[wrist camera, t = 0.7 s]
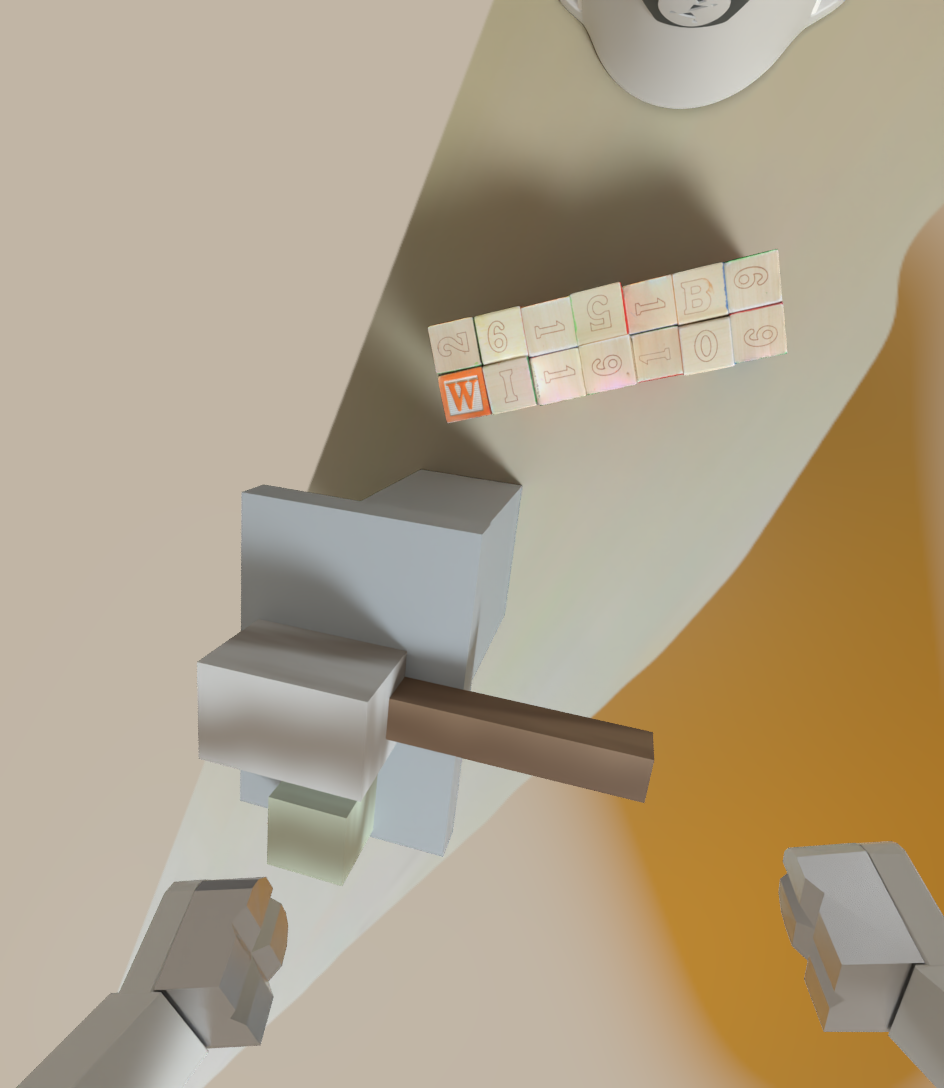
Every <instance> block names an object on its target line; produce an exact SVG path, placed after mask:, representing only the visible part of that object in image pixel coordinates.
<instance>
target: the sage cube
mask: <svg viewBox="0 0 944 1088" xmlns="http://www.w3.org/2000/svg"><path fill="white" fill-rule="evenodd" d="M377 776H378V774H377ZM377 776H376V778H375V779H374V781H373V783H372V784H371V786H370V788H369V789H368V791H367V792H366V794H365V796H364V797H363V799H362V801H361V802H359V801H355V800H351V799H348V798H344V797H340V796H337V795H333V794H329V793H325V792H322V791H318V790H314V789H310V788H307V787H303V786H299V785H295V784H292V783H288V782H284V781H281V783H280V784H279V785H278V786H277V787H276V789H275V790H274V791H273V792H272V793H271V795H270V796H269V797H268V846H267V864H269V865H272V866H276V867H279V868H282V869H286V870H289V871H292V872H296V873H299V874H303V875H306V876H309V877H313V878H316V879H319V880H323V881H326V882H330V883H333V884H336V885H340V886H342V885H343V884H344V882H345V880H346V878H347V876H348V875H349V873H350V871H351V869H352V867H353V866H354V864H355V862H356V860H357V858H358V856H359V855H360V853H361V851H362V849H363V847H364V846H365V844H366V842H367V840H368V838H369V836H370V835H371V833H372V831H373V826H374V813H375V801H376V788H377Z"/></svg>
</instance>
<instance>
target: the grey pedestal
mask: <svg viewBox="0 0 944 1088" xmlns="http://www.w3.org/2000/svg"><path fill="white" fill-rule="evenodd" d="M521 492H522V486H521V485H515V484H509V483H503V482H496V481H490V480H484V479H477V478H471V477H465V476H459V475H452V474H446V473H440V472H434V471H427V470H419V471H417V472H415V473H413V474H411V475H409V476H408V477H406V478H404V479H402V480H400V481H398V482H396V483H394V484H392V485H390V486H389V487H387V488H385V489H383V490H381V491H379V492H377V493H375V494H373V495H371V496H370V497H368V498H366V499H364V500H362V501H356V500H350V499H344V498H338V497H333V496H327V495H321V494H315V493H309V492H303V491H298V490H292V489H286V488H281V487H275V486H269V485H261V486H258V487H255V488H253V489H250V490H247V491H244V492H242V543H241V546H242V547H241V552H242V553H241V555H242V556H241V561H242V562H241V566H242V567H241V569H242V570H241V631H242V630H244V629H245V628H247V627H248V626H249V625H251V624H252V623H254V622H255V621H257V620H258V619H261V620H266V621H271V622H275V623H280V624H284V625H289V626H294V627H298V628H303V629H307V630H312V631H317V632H321V633H326V634H331V635H335V636H340V637H344V638H349V639H354V640H358V641H363V642H367V643H372V644H377V645H381V646H386V647H390V648H395V649H400V650H404V651H407V658H406V669H405V677H409V678H413V679H418V680H422V681H427V682H431V683H436V684H440V685H445V686H449V687H453V688H458V689H462V690H467V691H471V683H472V680H473V678H474V676H475V674H476V672H477V670H478V668H479V666H480V664H481V662H482V660H483V658H484V656H485V654H486V652H487V650H488V648H489V645H490V643H491V641H492V639H493V637H494V635H495V633H496V631H497V629H498V627H499V625H500V623H501V621H502V619H503V617H504V615H505V608H506V600H507V593H508V586H509V579H510V571H511V564H512V557H513V550H514V542H515V535H516V528H517V521H518V513H519V506H520V499H521ZM461 762H462V758H460V757H456V756H452V755H447V754H443V753H439V752H435V751H431V750H427V749H423V748H419V747H415V746H411V745H407V744H403V743H399V742H397V743H396V745H395V747H394V748H393V750H392V752H391V753H390V755H389V757H388V758H387V760H386V761H385V763H384V765H383V766H382V768H381V770H380V771H379V773H378V776H377V788H376V801H375V813H374V826H373V831H372V833H371V835H370V837H373V838H377V839H381V840H384V841H388V842H391V843H395V844H399V845H402V846H406V847H409V848H413V849H417V850H420V851H424V852H427V853H431V854H435V855H438V856H442V857H443V856H444V853H445V850H446V848H447V845H448V843H449V840H450V837H451V835H452V832H453V826H454V818H455V810H456V802H457V794H458V786H459V778H460V770H461ZM280 783H281V781H280V780H277V779H273V778H269V777H266V776H262V775H258V774H254V773H251V772H247V771H243V770H241V779H240V801H244V802H247V803H251V804H255V805H258V806H262V807H265V808H268V797H269V796H270V795H271V793H272V792H273V791H274V790H275V789H276V787H277V786H278V785H279V784H280Z"/></svg>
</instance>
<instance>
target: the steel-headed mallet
mask: <svg viewBox="0 0 944 1088" xmlns="http://www.w3.org/2000/svg"><path fill="white" fill-rule="evenodd" d="M406 658H407V651H404V650H400V649H395V648H390V647H386V646H381V645H377V644H372V643H367V642H363V641H358V640H354V639H349V638H344V637H340V636H335V635H331V634H326V633H321V632H317V631H312V630H307V629H303V628H298V627H294V626H289V625H284V624H280V623H275V622H271V621H266V620H261V619H258V620H257V621H255V622H254V623H252V624H251V625H249V626H248V627H247V628H245V629H244V630H242V631H241V632H239V633H238V634H237V635H235V636H234V637H232V638H231V639H229V640H228V641H226V642H225V643H224V644H222V645H221V646H219V647H218V648H216V649H215V650H214V651H212V652H211V653H209V654H208V655H207V656H205V657H204V658H202V659H201V660H199V661H198V662H197V682H198V683H197V685H198V736H199V737H198V738H199V759H202V760H206V761H209V762H213V763H217V764H221V765H224V766H228V767H232V768H236V769H239V770H243V771H247V772H251V773H254V774H258V775H262V776H266V777H269V778H273V779H277V780H280V781H284V782H288V783H292V784H295V785H299V786H303V787H307V788H310V789H314V790H318V791H322V792H325V793H329V794H333V795H337V796H340V797H344V798H348V799H351V800H355V801H359V802H361V801H362V799H363V797H364V796H365V794H366V792H367V791H368V789H369V788H370V786H371V784H372V783H373V781H374V779H375V778H376V776H377V774H378V773H379V771H380V770H381V768H382V766H383V765H384V763H385V761H386V760H387V758H388V757H389V755H390V753H391V752H392V750H393V748H394V747H395V745H396V743H397V742H399V743H403V744H407V745H411V746H415V747H419V748H423V749H427V750H431V751H435V752H439V753H443V754H447V755H452V756H456V757H460V758H464V759H468V760H472V761H476V762H480V763H484V764H488V765H492V766H496V767H500V768H504V769H508V770H512V771H517V772H521V773H525V774H529V775H533V776H537V777H541V778H545V779H549V780H553V781H558V782H561V783H565V784H570V785H573V786H578V787H582V788H586V789H590V790H594V791H598V792H602V793H607V794H610V795H614V796H618V797H623V798H626V799H630V800H634V801H639V802H643V803H644V802H645V798H646V793H647V789H648V785H649V780H650V775H651V772H652V767H653V763H654V750H653V749H654V748H653V732H649V731H644V730H640V729H636V728H631V727H627V726H622V725H618V724H613V723H609V722H605V721H600V720H596V719H591V718H587V717H582V716H578V715H573V714H569V713H565V712H560V711H556V710H551V709H547V708H542V707H538V706H533V705H529V704H525V703H520V702H516V701H511V700H507V699H502V698H498V697H493V696H489V695H485V694H480V693H476V692H471V691H467V690H462V689H458V688H453V687H449V686H445V685H440V684H436V683H431V682H427V681H422V680H418V679H413V678H409V677H405V669H406Z"/></svg>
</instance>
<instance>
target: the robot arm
mask: <svg viewBox="0 0 944 1088" xmlns="http://www.w3.org/2000/svg"><path fill="white" fill-rule="evenodd" d="M559 1H560V2H561V3H562V5H563V6H564V7H565V8H566V9H567V10H568V11H569V12H570V13H571V14H572V15H573V16H575V17H576V18H577V19H578V20H579V21H580V22H582V23H583V25H584V26H585V28H586V29H587V31H588V33H589V35H590V38H591V40H592V43H593V45H594V48H595V50H596V52H597V55H598V57H599V59H600V61H601V62H602V64H603V66H604V67H605V69H606V70H607V72H608V73H609V75H610V76H611V77H612V78H613V79H614V80H615V82H617V83H618V84H619V85H620V86H621V87H622V88H623V89H624V90H625V91H627V92H628V93H630V94H631V95H633V96H634V97H636V98H638V99H640V100H642V101H644V102H646V103H649V104H652V105H656V106H660V107H665V108H674V109H686V108H695V107H701V106H705V105H709V104H712V103H716V102H718V101H721V100H723V99H726V98H728V97H730V96H732V95H734V94H735V93H737V92H739V91H741V90H742V89H744V88H745V87H747V86H748V85H750V84H751V83H752V82H754V81H755V80H756V79H758V78H759V77H760V76H761V75H762V74H763V73H765V72H766V71H767V70H768V69H769V68H770V67H771V66H772V65H773V64H774V62H775V61H776V60H777V59H778V58H779V57H780V56H781V54H782V53H783V52H784V51H785V49H786V48H787V47H788V46H789V45H790V43H791V42H792V41H793V40H794V39H795V38H796V37H797V35H798V34H799V33H800V32H801V31H803V30H804V29H805V28H806V27H808V26H810V25H811V24H813V23H815V22H816V21H818V20H820V19H821V18H823V17H825V16H826V15H828V14H829V13H831V12H832V11H834V10H835V9H836V8H837V7H839V6H840V5H841V4H842V3H843V2H844V1H845V0H559ZM783 863H784V866H785V868H786V871H787V874H786V875H785V876H783V877H782V878H781V879H780V885H779V898H780V906H781V913H782V916H783V920H784V924H785V927H786V930H787V933H788V936H789V939H790V941H791V944H792V946H793V947H794V948H795V949H796V950H797V951H798V952H799V953H800V954H801V955H802V956H803V957H805V958H806V959H807V960H808V963H807V968H806V973H805V978H804V980H805V982H806V985H807V988H808V991H809V993H810V996H811V999H812V1001H813V1004H814V1007H815V1009H816V1012H817V1015H818V1017H819V1020H820V1023H821V1025H822V1028H823V1031H824V1032H825V1031H826V1032H833V1031H834V1032H836V1031H837V1032H841V1031H842V1032H889V1037H890V1038H891V1039H892V1040H893V1041H894V1042H895V1043H896V1044H897V1045H898V1046H899V1048H901V1050H902V1051H903V1052H904V1053H905V1054H906V1055H907V1056H908V1057H909V1058H910V1059H911V1060H912V1061H913V1063H914V1064H915V1065H916V1066H917V1067H918V1068H919V1069H920V1070H921V1071H922V1072H923V1073H924V1075H925V1076H926V1077H927V1078H928V1079H929V1080H930V1081H931V1082H932V1083H933V1084H934V1085H935V1086H936V1088H944V916H943V915H942V913H941V911H940V909H939V908H938V906H937V904H936V903H935V901H934V899H933V897H932V896H931V894H930V893H929V891H928V889H927V887H926V886H925V884H924V882H923V880H922V879H921V877H920V875H919V874H918V872H917V870H916V868H915V867H914V865H913V863H912V862H911V860H910V858H909V857H908V855H907V853H906V851H905V850H904V849H903V848H902V847H901V846H900V845H898V844H897V843H895V842H892V841H888V842H873V843H848V844H834V845H822V846H808V847H794V848H788V849H787V850H785V853H784V858H783ZM272 890H273V887H272V886H271V884H270V883H269V881H268V879H267V878H266V877H256V878H238V879H220V880H193V881H179V882H174V883H173V884H172V885H171V886H170V887H169V889H168V890H167V891H166V892H165V894H164V896H163V898H162V900H161V902H160V904H159V906H158V909H157V911H156V913H155V915H154V917H153V920H152V922H151V924H150V926H149V928H148V931H147V933H146V935H145V937H144V939H143V942H142V944H141V946H140V948H139V950H138V953H137V955H136V957H135V959H134V961H133V963H132V966H131V968H130V970H129V972H128V974H127V977H126V979H125V981H124V983H123V985H122V988H121V990H120V992H119V993H111V994H109V995H108V996H107V997H106V998H105V999H104V1000H103V1001H102V1002H101V1003H100V1004H99V1005H98V1006H97V1007H96V1008H95V1009H94V1010H93V1011H92V1012H91V1013H90V1014H89V1015H88V1016H87V1017H86V1018H85V1019H84V1020H83V1021H82V1022H81V1023H80V1024H79V1025H78V1026H77V1027H76V1028H75V1029H74V1030H73V1031H72V1032H71V1033H70V1034H69V1035H68V1036H67V1037H66V1038H65V1039H64V1040H63V1041H62V1042H61V1043H60V1044H59V1045H58V1046H57V1047H56V1048H55V1049H54V1050H53V1051H52V1052H51V1053H50V1054H49V1055H48V1056H47V1057H46V1058H45V1059H44V1060H43V1061H42V1062H41V1063H40V1064H39V1065H38V1066H37V1067H36V1068H35V1069H34V1070H33V1071H32V1072H31V1073H30V1074H29V1075H28V1076H27V1077H26V1078H25V1079H24V1080H23V1081H22V1082H21V1083H20V1084H19V1085H18V1086H17V1087H16V1088H183V1087H184V1085H185V1084H186V1083H187V1081H188V1080H189V1079H190V1077H191V1076H192V1074H193V1073H194V1072H195V1070H196V1069H197V1068H198V1066H199V1065H200V1063H201V1062H202V1061H203V1059H204V1058H205V1057H206V1055H207V1054H208V1050H207V1048H223V1047H241V1046H257V1045H260V1044H261V1041H262V1037H263V1034H264V1030H265V1026H266V1023H267V1019H268V1015H269V1012H270V1008H271V1004H272V1001H273V994H272V991H271V988H270V985H269V982H268V981H269V980H270V979H271V978H272V977H273V976H274V974H275V973H276V972H277V971H278V970H279V969H280V967H281V966H282V963H283V959H284V955H285V951H286V947H287V937H288V922H287V916H286V912H285V910H284V908H283V906H282V904H281V903H279V902H277V901H275V900H274V899H272V898H270V897H271V893H272Z"/></svg>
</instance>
